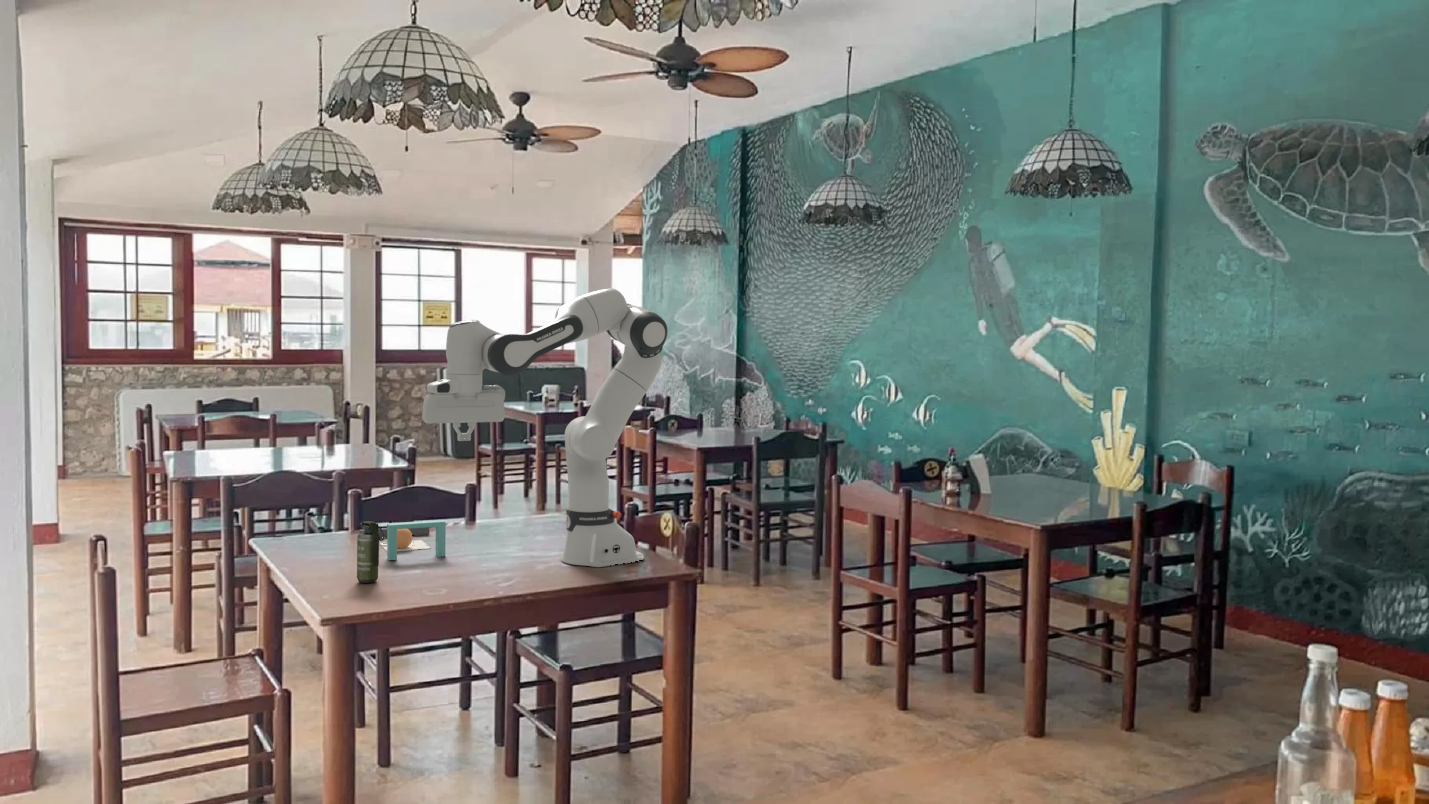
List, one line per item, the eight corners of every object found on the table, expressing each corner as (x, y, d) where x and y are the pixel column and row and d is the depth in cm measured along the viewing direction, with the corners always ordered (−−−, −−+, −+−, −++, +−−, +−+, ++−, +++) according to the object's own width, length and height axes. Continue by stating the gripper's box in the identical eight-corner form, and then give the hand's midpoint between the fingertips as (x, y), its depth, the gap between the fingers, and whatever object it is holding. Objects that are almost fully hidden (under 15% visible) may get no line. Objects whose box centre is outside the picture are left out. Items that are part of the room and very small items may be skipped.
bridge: (387, 558, 295) (387, 523, 295) (442, 554, 302) (442, 519, 302) (389, 561, 293) (389, 525, 292) (445, 556, 300) (445, 521, 299)
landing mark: (421, 540, 320) (421, 539, 320) (430, 548, 309) (430, 548, 309) (379, 543, 314) (379, 542, 314) (387, 552, 304) (387, 551, 304)
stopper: (427, 533, 331) (427, 525, 330) (429, 534, 329) (429, 526, 329) (359, 538, 321) (359, 529, 321) (360, 539, 320) (360, 530, 320)
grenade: (352, 582, 269) (352, 522, 268) (369, 578, 274) (369, 519, 273) (370, 586, 266) (370, 525, 265) (387, 581, 271) (387, 521, 270)
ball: (412, 522, 310) (416, 540, 307) (407, 534, 314) (411, 552, 310) (391, 523, 307) (394, 541, 303) (386, 535, 311) (390, 553, 307)
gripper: (501, 384, 279) (501, 437, 280) (420, 384, 270) (420, 440, 271) (508, 385, 274) (508, 440, 275) (426, 386, 264) (426, 443, 265)
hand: (464, 440), depth 273 cm, fingers closed
